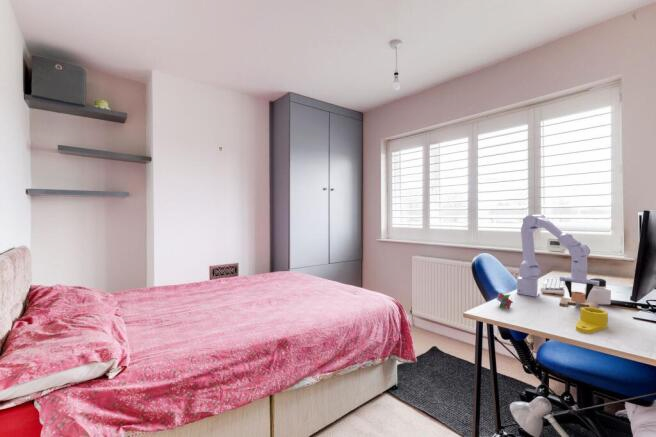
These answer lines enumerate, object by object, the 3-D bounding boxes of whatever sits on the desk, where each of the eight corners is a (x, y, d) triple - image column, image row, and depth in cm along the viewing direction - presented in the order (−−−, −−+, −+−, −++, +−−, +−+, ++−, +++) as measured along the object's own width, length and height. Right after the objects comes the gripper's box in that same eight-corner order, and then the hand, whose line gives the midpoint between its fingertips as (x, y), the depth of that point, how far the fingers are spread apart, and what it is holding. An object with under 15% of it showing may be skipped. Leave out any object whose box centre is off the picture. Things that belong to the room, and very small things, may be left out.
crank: (584, 319, 130) (584, 305, 130) (610, 325, 123) (610, 311, 123) (568, 329, 120) (568, 314, 120) (595, 336, 113) (596, 320, 113)
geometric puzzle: (519, 305, 142) (510, 289, 147) (509, 306, 140) (500, 290, 144) (508, 310, 148) (499, 294, 152) (498, 312, 145) (490, 296, 150)
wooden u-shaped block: (559, 305, 148) (559, 302, 148) (561, 299, 157) (561, 297, 157) (597, 311, 139) (597, 309, 139) (597, 305, 148) (597, 302, 148)
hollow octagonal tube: (571, 301, 145) (571, 293, 144) (571, 298, 149) (571, 290, 148) (585, 303, 141) (585, 295, 141) (585, 300, 145) (585, 292, 145)
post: (574, 307, 145) (574, 295, 145) (574, 305, 147) (574, 294, 147) (581, 308, 143) (582, 297, 143) (581, 307, 145) (582, 295, 145)
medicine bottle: (610, 304, 148) (611, 280, 148) (596, 304, 148) (596, 280, 148) (598, 300, 155) (598, 277, 155) (584, 300, 156) (584, 277, 155)
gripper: (559, 269, 146) (558, 297, 147) (599, 273, 137) (598, 303, 137) (560, 267, 151) (559, 293, 152) (599, 271, 142) (598, 299, 142)
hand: (578, 298), depth 145 cm, fingers closed on hollow octagonal tube, 5 cm apart
